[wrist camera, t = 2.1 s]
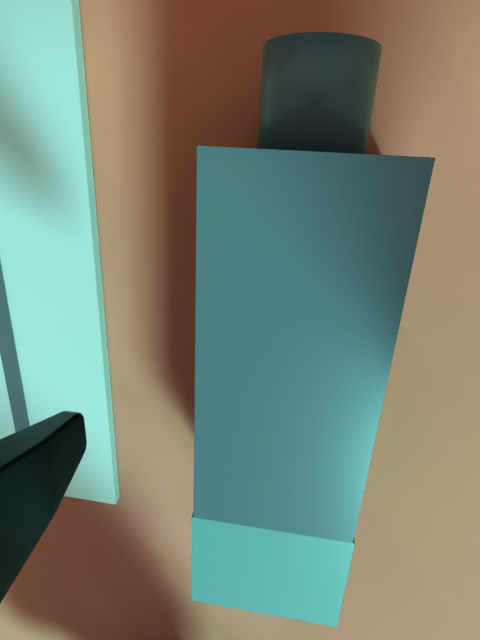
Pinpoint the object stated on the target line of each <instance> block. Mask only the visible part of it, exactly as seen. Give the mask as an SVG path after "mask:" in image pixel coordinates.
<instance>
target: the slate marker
mask: <svg viewBox="0 0 480 640" xmlns="http://www.w3.org/2000/svg"><path fill="white" fill-rule="evenodd" d="M381 50H382V46H381V44H380V43H378V42H377V41H375V40H372V39H370V38H366V37H362V36H358V35H351V34H344V33H330V32H309V33H296V34H288V35H283V36H279V37H275V38H272V39H270V40H268V41H266V42H265V43H264V47H263V63H262V80H261V96H260V113H259V130H258V146H257V149H255V148H235V147H216V146H197V190H196V308H195V425H194V512H193V515H192V569H191V600H194V601H199V602H205V603H210V604H215V605H221V606H226V607H231V608H237V609H242V610H247V611H253V612H258V613H263V614H269V615H274V616H279V617H285V618H290V619H296V620H301V621H306V622H312V623H317V624H322V625H328V626H333V627H337V623H338V618H339V614H340V609H341V605H342V600H343V595H344V591H345V586H346V582H347V577H348V572H349V568H350V563H351V559H352V554H353V549H354V545H355V542H354V535H355V530H356V525H357V521H358V516H359V511H360V507H361V502H362V497H363V493H364V488H365V483H366V479H367V474H368V469H369V465H370V460H371V455H372V451H373V446H374V441H375V437H376V432H377V427H378V422H379V418H380V413H381V408H382V404H383V399H384V394H385V390H386V385H387V380H388V376H389V371H390V366H391V362H392V357H393V352H394V348H395V343H396V338H397V334H398V329H399V324H400V320H401V315H402V310H403V306H404V301H405V296H406V292H407V287H408V282H409V278H410V273H411V268H412V264H413V259H414V254H415V250H416V245H417V240H418V236H419V231H420V226H421V222H422V217H423V212H424V208H425V203H426V198H427V194H428V189H429V184H430V180H431V175H432V170H433V166H434V161H435V158H428V157H409V156H390V155H371V154H366V148H367V141H368V135H369V128H370V122H371V115H372V108H373V102H374V95H375V89H376V82H377V76H378V69H379V63H380V56H381Z"/></svg>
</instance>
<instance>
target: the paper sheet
mask: <svg viewBox="0 0 480 640" xmlns="http://www.w3.org/2000/svg"><path fill="white" fill-rule="evenodd" d="M62 411H72V412H79V413H81V414H82V415H83V417H84V422H85V430H86V439H87V446H86V450H85V453H84V455H83V457H82V459H81V461H80V464H79V466H78V468H77V470H76V472H75V474H74V476H73V478H72V480H71V482H70V484H69V486H68V488H67V490H66V493H65V495H64V496H66V497H72V498H79V499H85V500H91V501H97V502H103V503H110V504H116V503H117V501H118V499H119V498H120V495H119V482H118V470H117V458H116V446H115V434H114V422H113V410H112V397H111V385H110V373H109V361H108V349H107V337H106V325H105V312H104V300H103V288H102V276H101V264H100V252H99V240H98V227H97V215H96V203H95V191H94V179H93V167H92V155H91V142H90V130H89V118H88V106H87V94H86V82H85V69H84V57H83V45H82V33H81V21H80V9H79V0H0V439H2V438H4V437H7V436H9V435H11V434H13V433H16V432H18V431H20V430H22V429H24V428H27V427H29V426H31V425H33V424H36V423H38V422H40V421H42V420H45V419H47V418H49V417H51V416H53V415H56V414H58V413H60V412H62Z"/></svg>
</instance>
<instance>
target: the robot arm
mask: <svg viewBox="0 0 480 640" xmlns="http://www.w3.org/2000/svg"><path fill="white" fill-rule="evenodd" d="M86 446H87V439H86V430H85V422H84V417H83V415H82V414H81V413H79V412H72V411H62V412H60V413H58V414H56V415H53V416H51V417H49V418H47V419H45V420H42V421H40V422H38V423H36V424H33V425H31V426H29V427H27V428H24V429H22V430H20V431H18V432H16V433H13V434H11V435H9V436H7V437H4V438H2V439H0V603H1V601H2V600H3V598H4V596H5V595H6V593H7V591H8V590H9V588H10V587H11V585H12V583H13V582H14V580H15V578H16V577H17V575H18V573H19V572H20V570H21V569H22V567H23V565H24V564H25V562H26V560H27V559H28V557H29V556H30V554H31V552H32V551H33V549H34V547H35V546H36V544H37V543H38V541H39V539H40V538H41V536H42V534H43V533H44V531H45V530H46V528H47V526H48V525H49V523H50V521H51V520H52V518H53V516H54V514H55V513H56V511H57V509H58V507H59V505H60V503H61V501H62V499H63V497H64V495H65V493H66V490H67V488H68V486H69V484H70V482H71V480H72V478H73V476H74V474H75V472H76V470H77V468H78V466H79V464H80V461H81V459H82V457H83V455H84V453H85V450H86Z"/></svg>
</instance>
